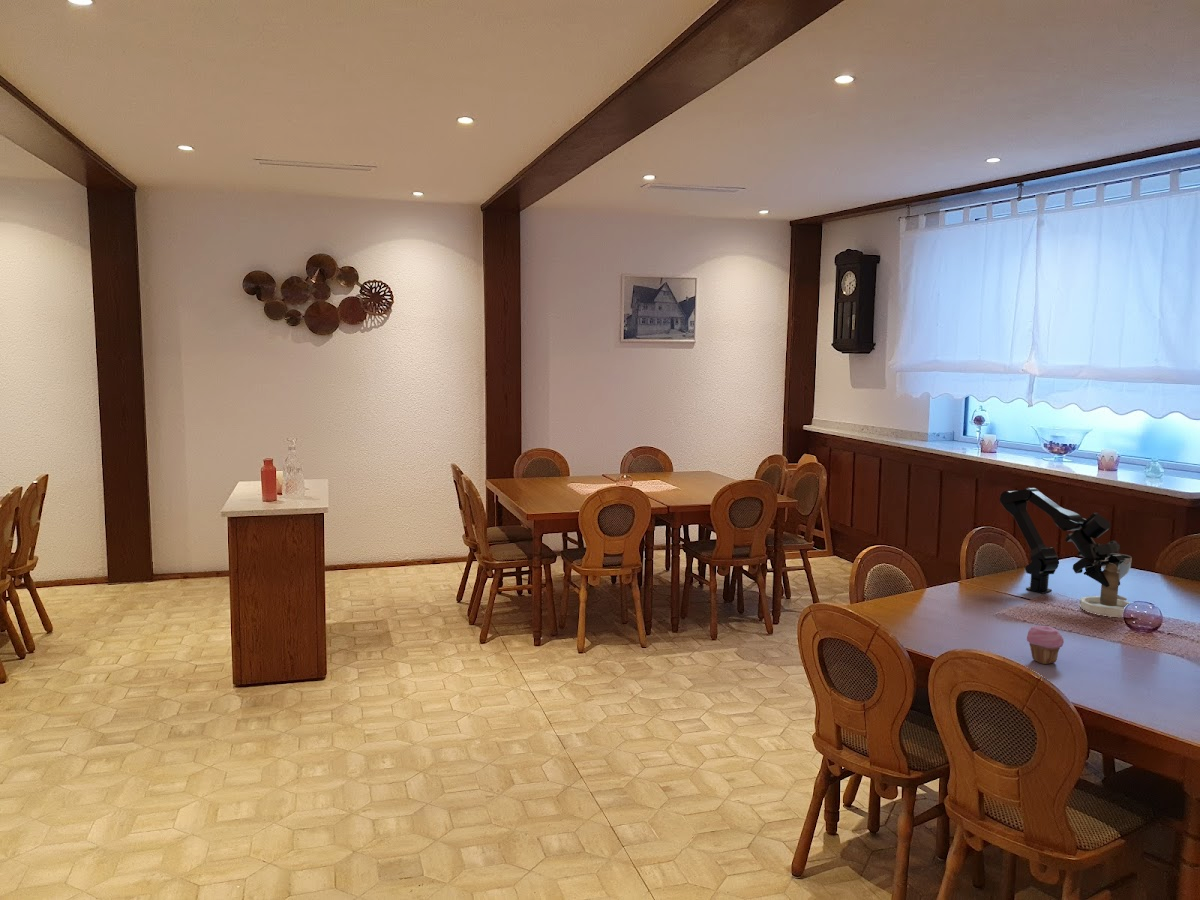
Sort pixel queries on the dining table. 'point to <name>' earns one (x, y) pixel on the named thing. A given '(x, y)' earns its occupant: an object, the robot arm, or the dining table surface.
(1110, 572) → the pepper mill
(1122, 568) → the wine glass
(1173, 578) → the dining table surface
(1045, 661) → the cupcake
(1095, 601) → the dish
